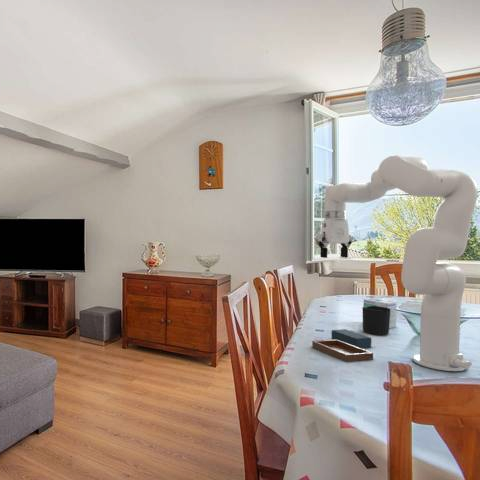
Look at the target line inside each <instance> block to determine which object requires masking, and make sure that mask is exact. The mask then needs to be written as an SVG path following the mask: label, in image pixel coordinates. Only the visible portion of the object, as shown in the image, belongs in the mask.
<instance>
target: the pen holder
mask: <svg viewBox="0 0 480 480" xmlns="http://www.w3.org/2000/svg"><path fill="white" fill-rule="evenodd" d="M389 323H390V309H389V308H386V307H380V306H369V307H366V308H364V307H363V306H362V331H363V332H364V333H365V334H368V335H373V336H387V335H389V332H390V328H389Z"/></svg>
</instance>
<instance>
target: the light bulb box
mask: <svg viewBox="0 0 480 480" xmlns="http://www.w3.org/2000/svg"><path fill="white" fill-rule="evenodd" d="M369 306H380V307H386V308H389V309H390V323H389V329H393V328H397V318H398V317H397V313H398V310H397V311H396V310H394V309H396V308H397V309H398V302H397V301H392V300H386V299H382V298H381V299H379V298H375V297H370V298H363V306H362V307H364V308H366V307H369Z"/></svg>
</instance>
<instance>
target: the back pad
mask: <svg viewBox="0 0 480 480" xmlns="http://www.w3.org/2000/svg"><path fill="white" fill-rule="evenodd" d="M336 339H337V340H340V341H342V342H345V343H348V344H350V345H353V346H356V347H359V348H361V349H370V348H372V337H370V336H367V335H365V334H361V333H358V332H355V331H351V330H349V329H343V328H342V329H331V340H336Z"/></svg>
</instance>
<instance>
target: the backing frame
mask: <svg viewBox="0 0 480 480" xmlns="http://www.w3.org/2000/svg"><path fill="white" fill-rule="evenodd" d="M311 345H312V348H313V349H316V350H318V351H320V352H322V353H325V354H327V355H330V356H332V357H334V358H336V359H339V360H341V361H343V362H345V363H349V362H351V363H352V362H361V361H363V362H364V361H372V360H374V352H372V351H369V350H367V349H365V348H359V347H356V346H353V345H350V344H348V343H345V342H342V341H340V340H337V339H336V340H332V339H325V340H312V344H311Z"/></svg>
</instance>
